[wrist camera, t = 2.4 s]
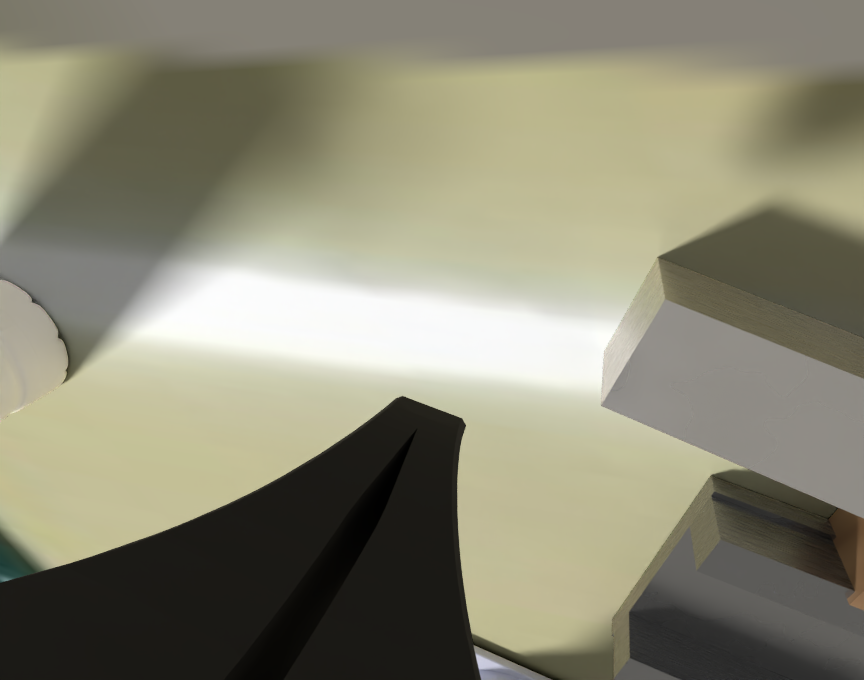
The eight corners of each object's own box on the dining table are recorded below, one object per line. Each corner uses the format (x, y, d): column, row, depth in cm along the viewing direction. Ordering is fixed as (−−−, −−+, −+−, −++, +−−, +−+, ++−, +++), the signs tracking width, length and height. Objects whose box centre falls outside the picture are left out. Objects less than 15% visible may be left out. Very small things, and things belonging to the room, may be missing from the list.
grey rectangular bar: (995, 510, 17) (1077, 609, 14) (604, 347, 18) (600, 405, 15) (1102, 428, 15) (1224, 523, 12) (657, 254, 17) (665, 299, 13)
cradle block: (850, 718, 22) (877, 797, 20) (612, 619, 24) (611, 681, 21) (1020, 589, 18) (1082, 672, 15) (710, 475, 19) (723, 535, 17)
